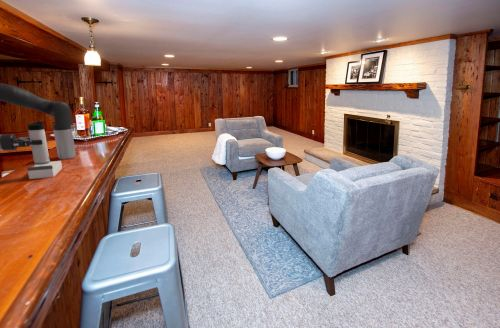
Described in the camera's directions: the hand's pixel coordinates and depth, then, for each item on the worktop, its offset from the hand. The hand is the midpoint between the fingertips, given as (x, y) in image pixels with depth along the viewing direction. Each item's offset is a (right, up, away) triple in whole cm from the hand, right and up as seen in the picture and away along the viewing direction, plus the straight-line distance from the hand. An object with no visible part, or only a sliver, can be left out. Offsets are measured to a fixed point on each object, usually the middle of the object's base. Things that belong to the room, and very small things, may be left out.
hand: (44, 140), depth 144 cm
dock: (-3, -16, +6) cm, 17 cm away
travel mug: (-2, -11, +2) cm, 11 cm away
